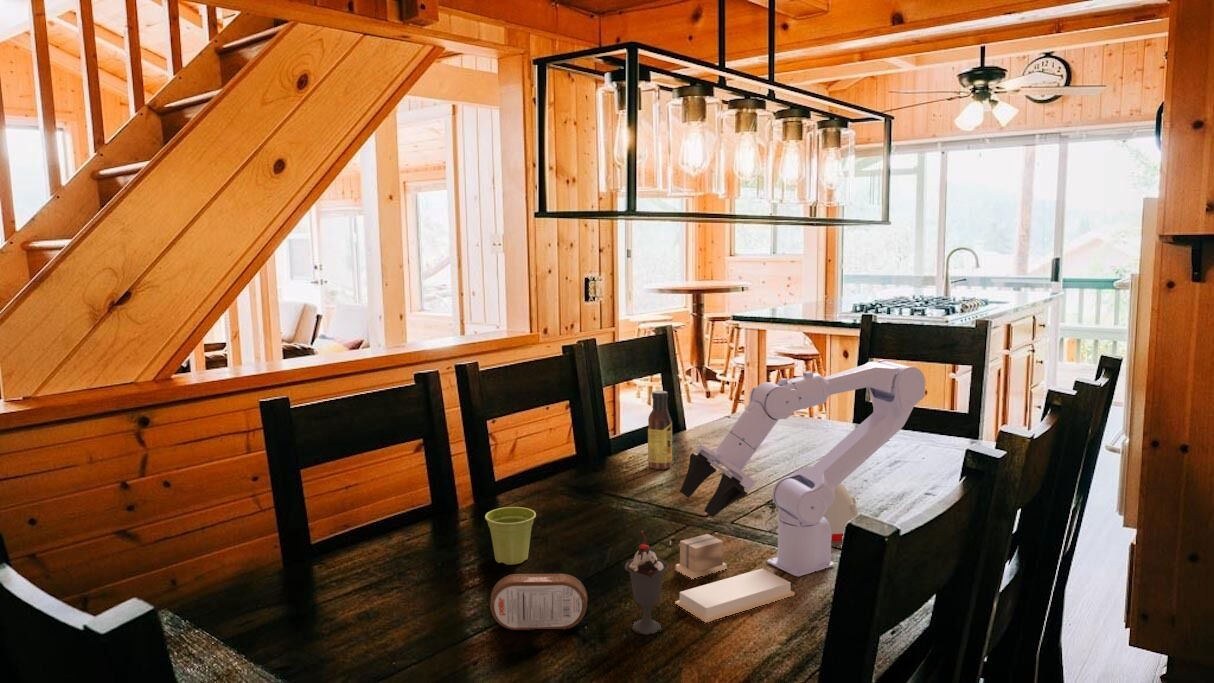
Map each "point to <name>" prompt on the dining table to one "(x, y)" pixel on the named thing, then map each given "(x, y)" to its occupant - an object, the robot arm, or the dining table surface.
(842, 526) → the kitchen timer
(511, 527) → the plant pot
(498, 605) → the tin
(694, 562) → the taped parcel
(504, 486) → the dining table surface
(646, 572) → the sundae
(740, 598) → the dock
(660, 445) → the sauce bottle
